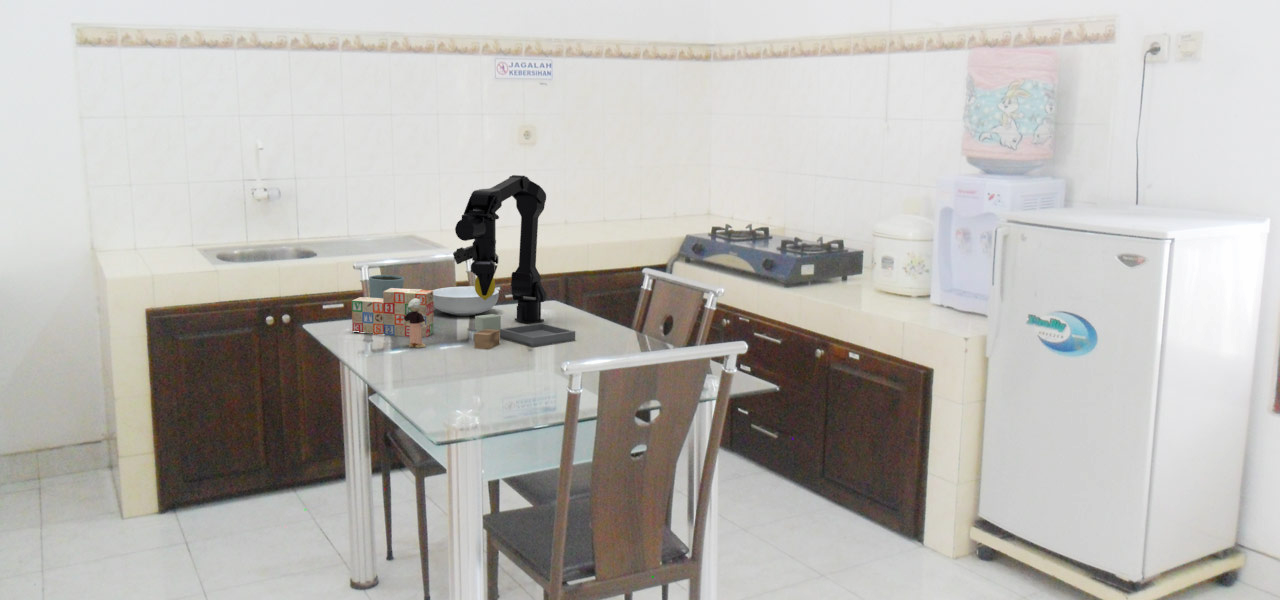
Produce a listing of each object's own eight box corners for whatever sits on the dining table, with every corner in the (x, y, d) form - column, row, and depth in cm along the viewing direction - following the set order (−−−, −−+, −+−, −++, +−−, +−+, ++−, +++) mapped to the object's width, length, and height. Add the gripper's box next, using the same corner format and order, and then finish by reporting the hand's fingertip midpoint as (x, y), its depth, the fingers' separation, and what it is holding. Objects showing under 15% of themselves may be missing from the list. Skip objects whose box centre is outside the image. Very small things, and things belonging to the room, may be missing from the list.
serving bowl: (472, 305, 345) (472, 283, 344) (512, 314, 330) (512, 292, 329) (416, 312, 331) (416, 289, 329) (456, 322, 316) (455, 299, 315)
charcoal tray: (542, 331, 305) (542, 323, 305) (575, 340, 295) (575, 331, 294) (499, 338, 295) (499, 329, 295) (532, 347, 285) (532, 337, 284)
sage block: (492, 327, 310) (492, 314, 309) (500, 330, 307) (500, 316, 306) (475, 330, 306) (475, 316, 305) (482, 332, 303) (482, 318, 302)
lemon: (475, 298, 299) (475, 269, 297) (495, 298, 299) (495, 269, 298) (473, 301, 293) (473, 272, 292) (494, 302, 294) (494, 273, 292)
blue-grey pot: (369, 314, 325) (369, 274, 323) (404, 313, 327) (403, 274, 325) (369, 320, 315) (368, 279, 313) (405, 319, 318) (404, 279, 316)
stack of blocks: (351, 333, 297) (350, 289, 295) (360, 329, 303) (359, 286, 301) (426, 337, 294) (426, 293, 292) (434, 333, 300) (433, 289, 298)
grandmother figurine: (432, 346, 283) (431, 298, 281) (424, 348, 279) (424, 300, 277) (406, 343, 285) (405, 296, 283) (398, 346, 282) (397, 298, 280)
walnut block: (485, 343, 289) (485, 328, 288) (499, 344, 288) (499, 330, 287) (474, 348, 282) (474, 333, 281) (488, 349, 281) (488, 334, 280)
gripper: (458, 232, 302) (458, 287, 305) (451, 240, 283) (451, 299, 286) (498, 233, 303) (498, 288, 305) (494, 241, 284) (494, 299, 287)
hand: (485, 293), depth 296 cm, fingers closed on lemon, 5 cm apart
